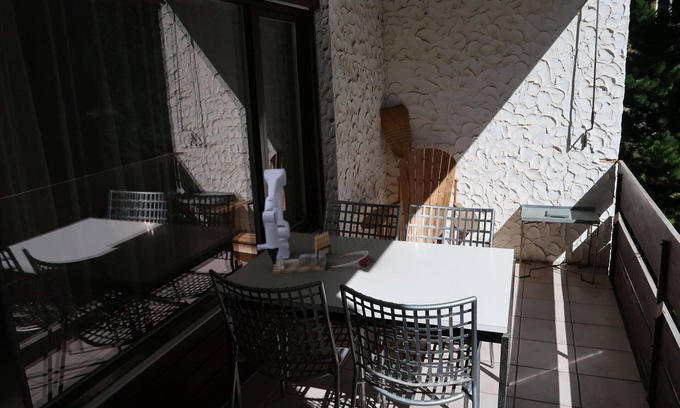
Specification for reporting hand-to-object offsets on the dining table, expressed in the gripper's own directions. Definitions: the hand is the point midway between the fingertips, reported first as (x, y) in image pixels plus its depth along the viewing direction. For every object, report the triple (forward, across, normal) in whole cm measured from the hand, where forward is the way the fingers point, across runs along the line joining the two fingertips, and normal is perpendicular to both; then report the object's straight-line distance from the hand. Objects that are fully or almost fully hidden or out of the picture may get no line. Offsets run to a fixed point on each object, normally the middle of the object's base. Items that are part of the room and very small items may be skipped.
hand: (274, 263), depth 260 cm
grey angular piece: (+1, +7, -1) cm, 7 cm away
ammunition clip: (+3, +22, +14) cm, 27 cm away
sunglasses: (+4, +36, +2) cm, 36 cm away
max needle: (+1, +4, -4) cm, 6 cm away
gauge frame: (+3, +12, 0) cm, 12 cm away
